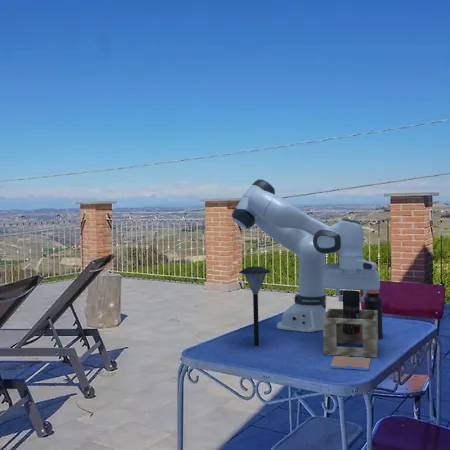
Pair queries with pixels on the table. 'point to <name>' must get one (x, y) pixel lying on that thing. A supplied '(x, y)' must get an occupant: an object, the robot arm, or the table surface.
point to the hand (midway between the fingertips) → (351, 301)
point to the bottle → (374, 307)
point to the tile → (350, 361)
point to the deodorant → (351, 311)
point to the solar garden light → (255, 292)
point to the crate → (335, 334)
